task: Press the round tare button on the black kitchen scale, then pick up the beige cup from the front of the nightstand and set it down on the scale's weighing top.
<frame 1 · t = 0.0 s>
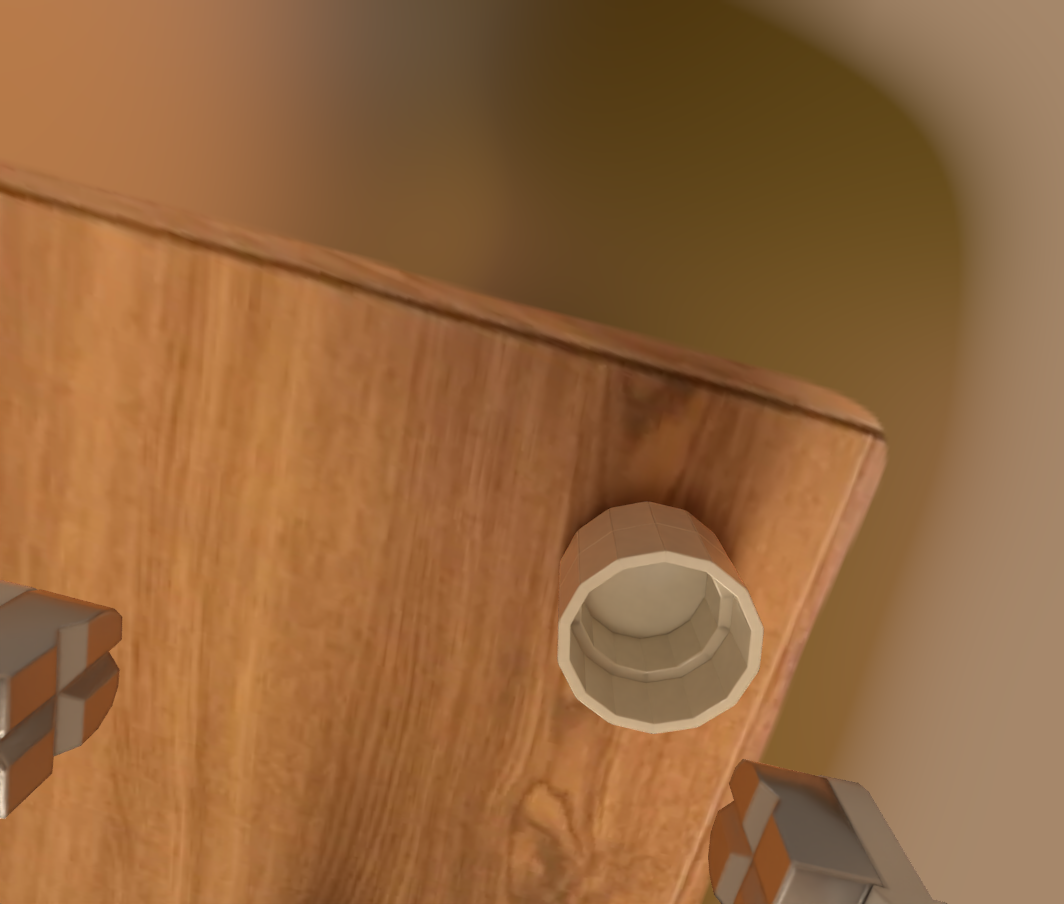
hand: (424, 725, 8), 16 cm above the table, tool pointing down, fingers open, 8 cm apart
beige cup: (641, 575, 25), on the table
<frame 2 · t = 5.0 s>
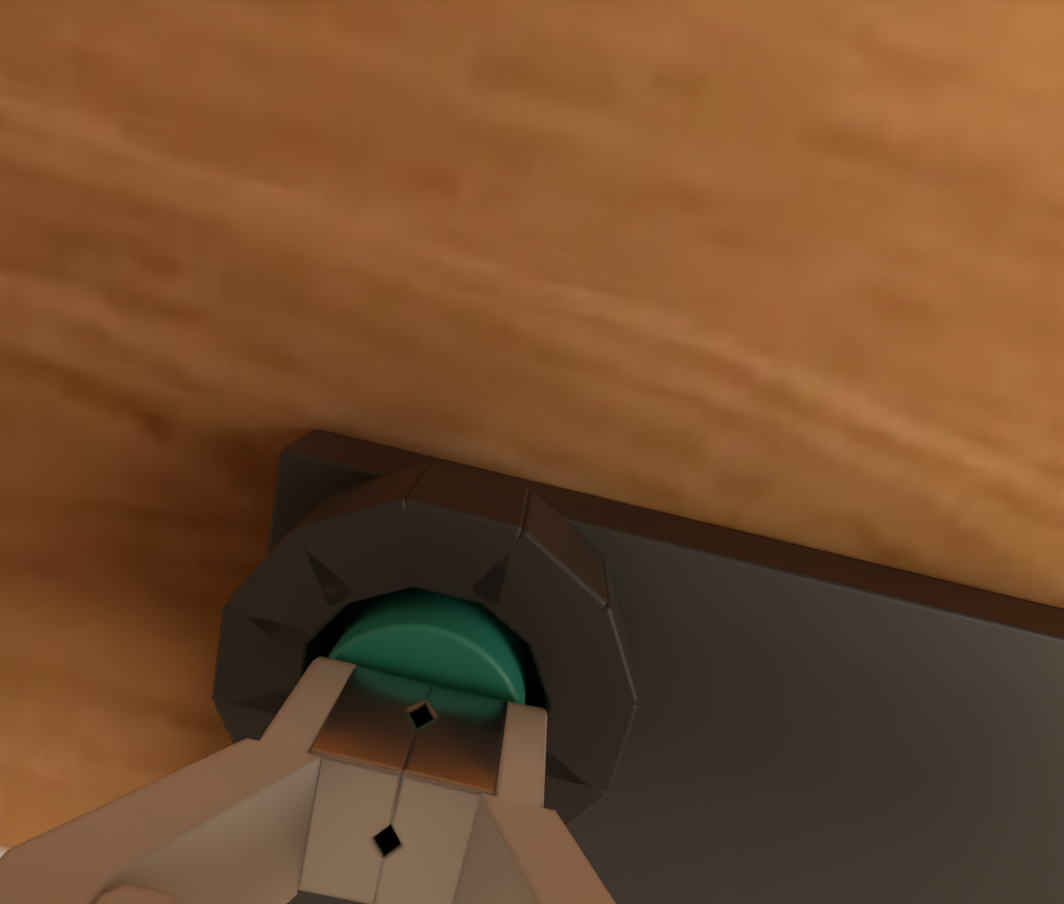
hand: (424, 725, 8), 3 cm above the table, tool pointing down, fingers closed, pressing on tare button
scale: (666, 744, 12), on the table
tare button: (427, 685, 9), point 3 cm above the table, slide at -0.7 cm, touching gripper
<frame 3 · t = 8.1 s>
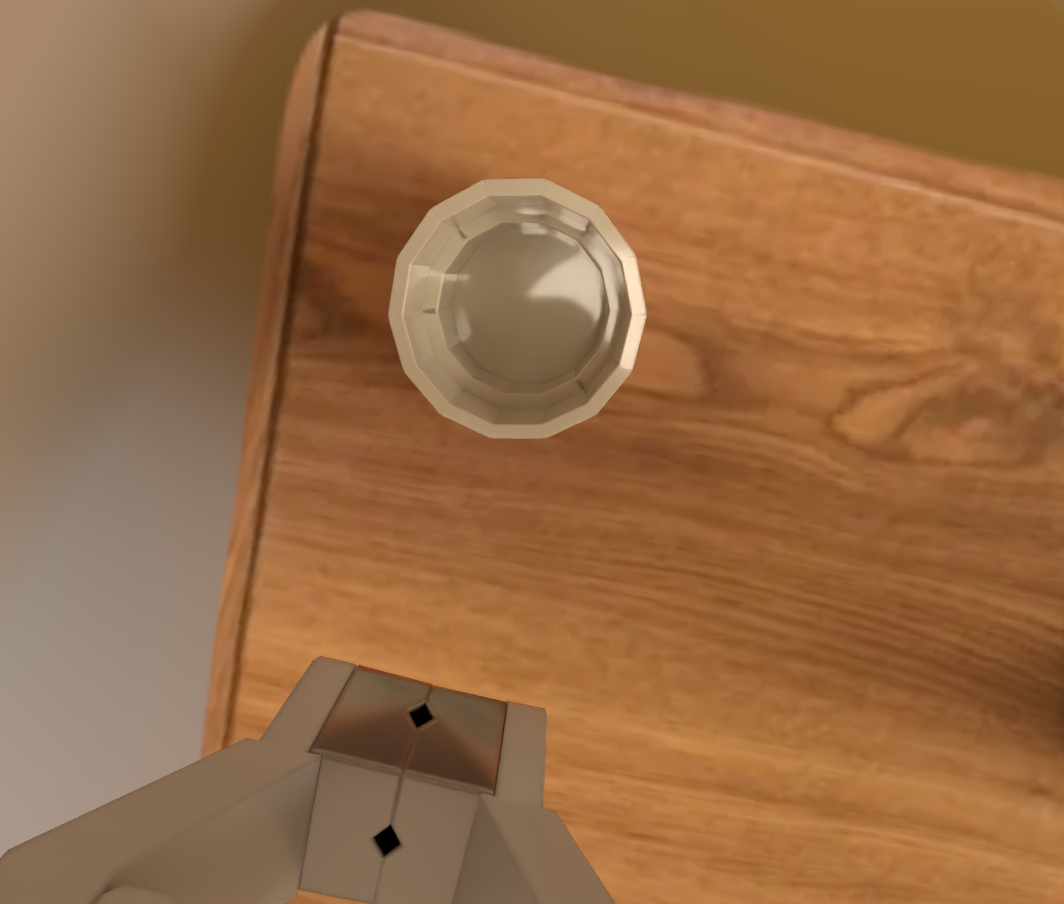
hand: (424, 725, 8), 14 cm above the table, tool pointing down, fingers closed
beige cup: (528, 307, 21), on the table
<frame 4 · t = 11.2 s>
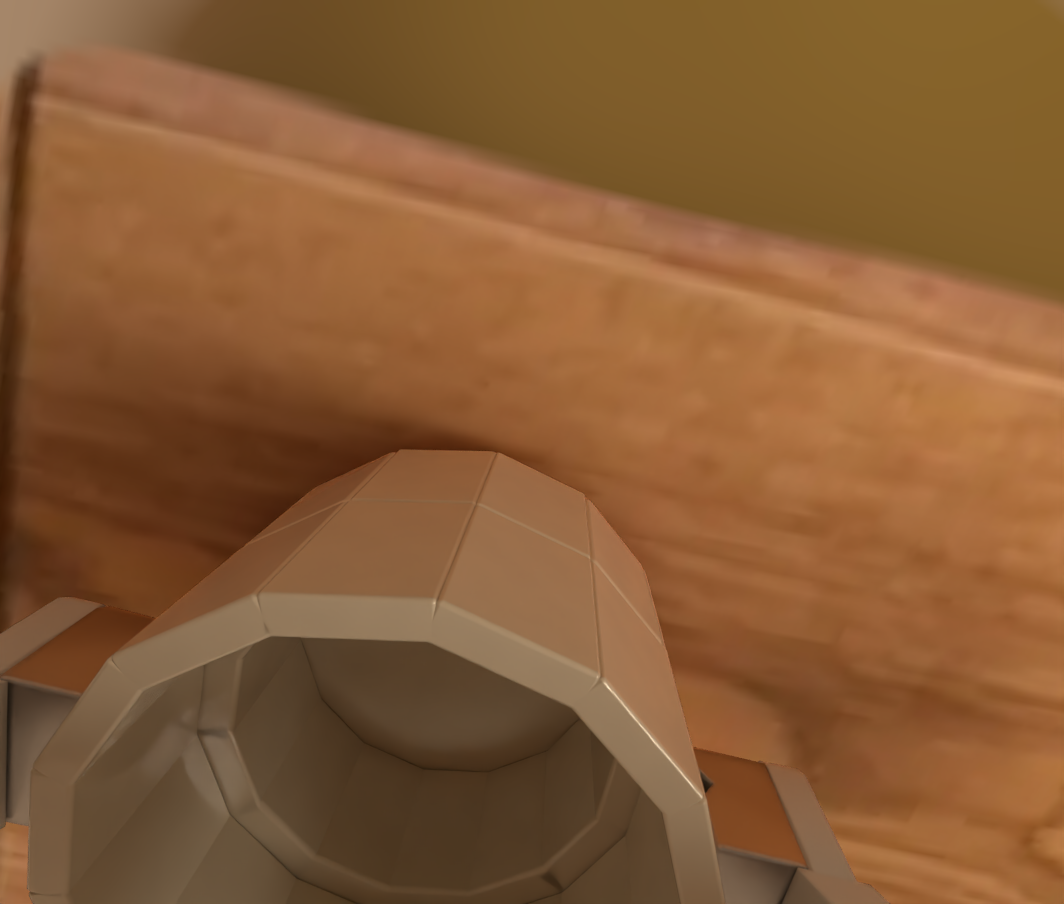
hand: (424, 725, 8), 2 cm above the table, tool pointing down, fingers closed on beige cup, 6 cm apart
beige cup: (457, 627, 11), on the table, touching gripper
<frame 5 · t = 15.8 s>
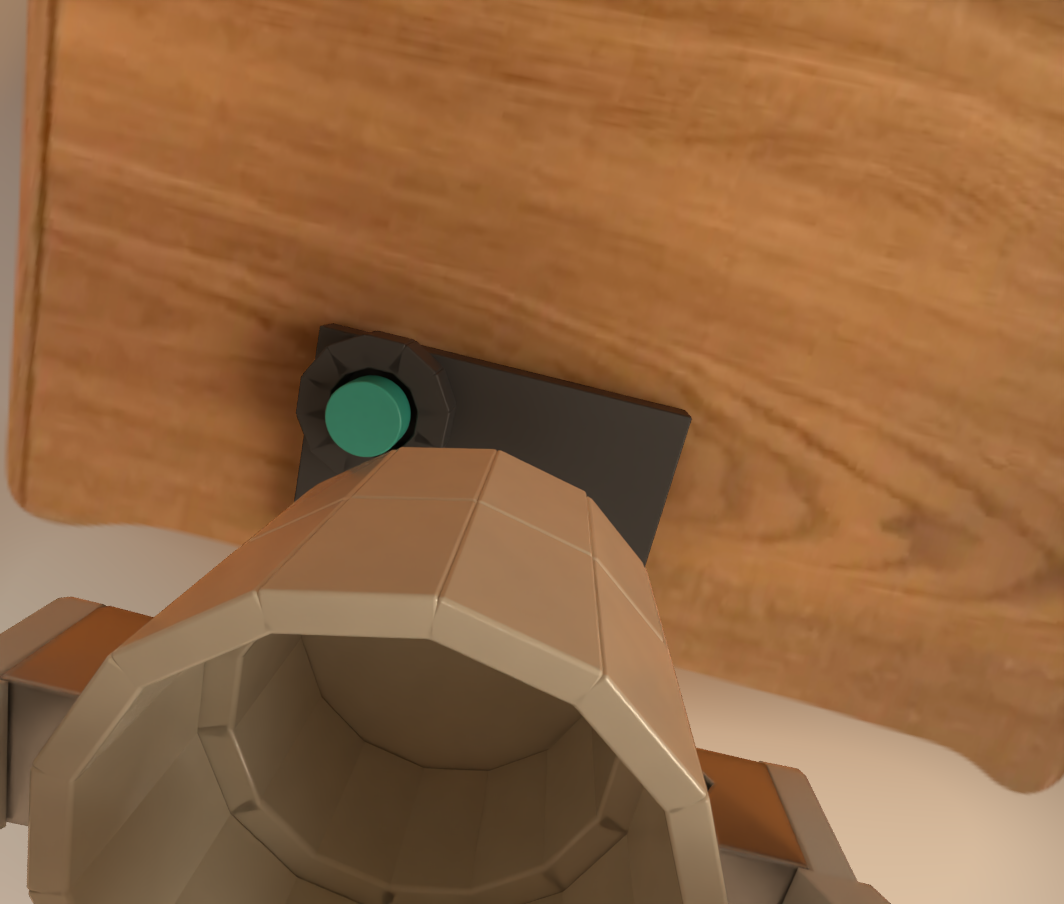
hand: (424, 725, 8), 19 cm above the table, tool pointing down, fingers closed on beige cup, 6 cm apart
scale: (486, 468, 28), on the table
beige cup: (458, 625, 11), point 17 cm above the table, touching gripper
tare button: (369, 415, 24), point 3 cm above the table, slide at 0.1 cm
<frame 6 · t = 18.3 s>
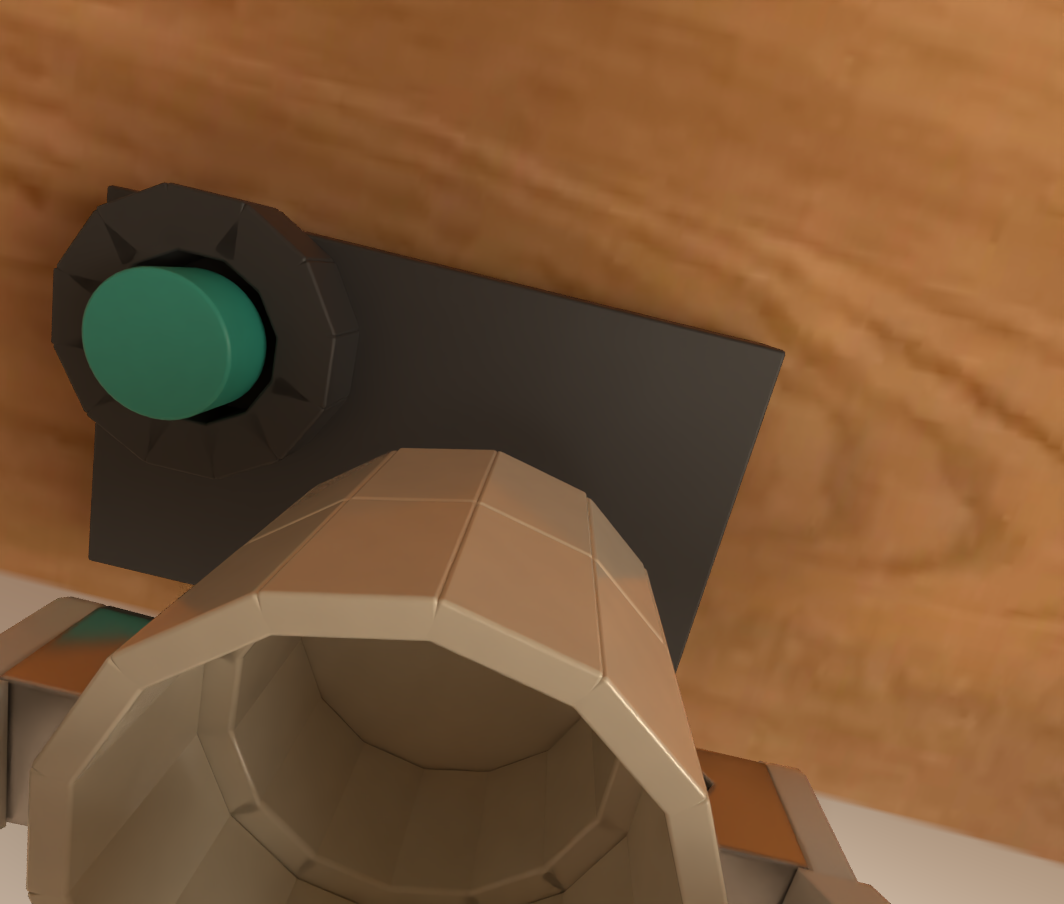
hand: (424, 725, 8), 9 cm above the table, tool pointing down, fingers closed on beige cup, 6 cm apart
scale: (424, 448, 16), on the table
beige cup: (458, 626, 11), point 6 cm above the table, touching gripper
tare button: (179, 341, 12), point 3 cm above the table, slide at 0.1 cm
when the fingers open (4 cm above the table, at t = 20.3 s): beige cup stays where it is, resting on scale.
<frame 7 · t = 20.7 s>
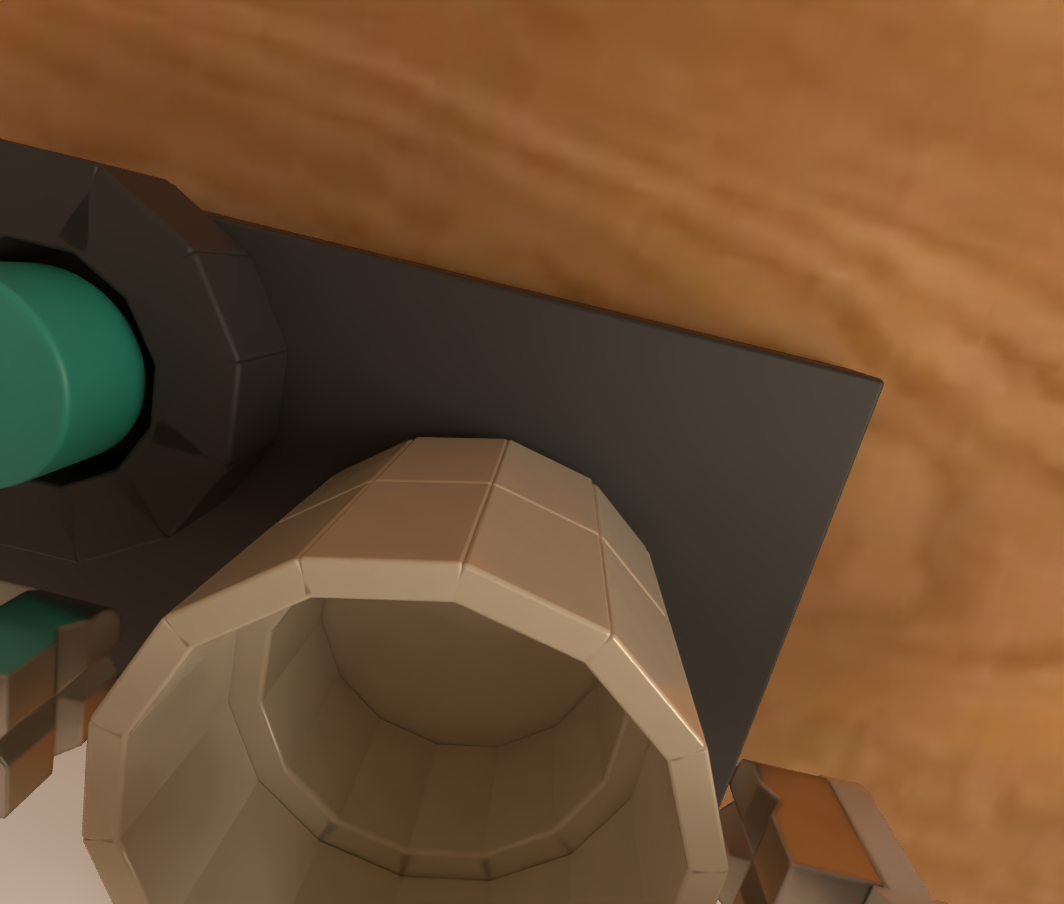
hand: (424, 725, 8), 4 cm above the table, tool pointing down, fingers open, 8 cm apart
scale: (385, 504, 12), on the table
beige cup: (470, 608, 11), point 1 cm above the table, touching scale
tare button: (7, 372, 8), point 3 cm above the table, slide at 0.1 cm
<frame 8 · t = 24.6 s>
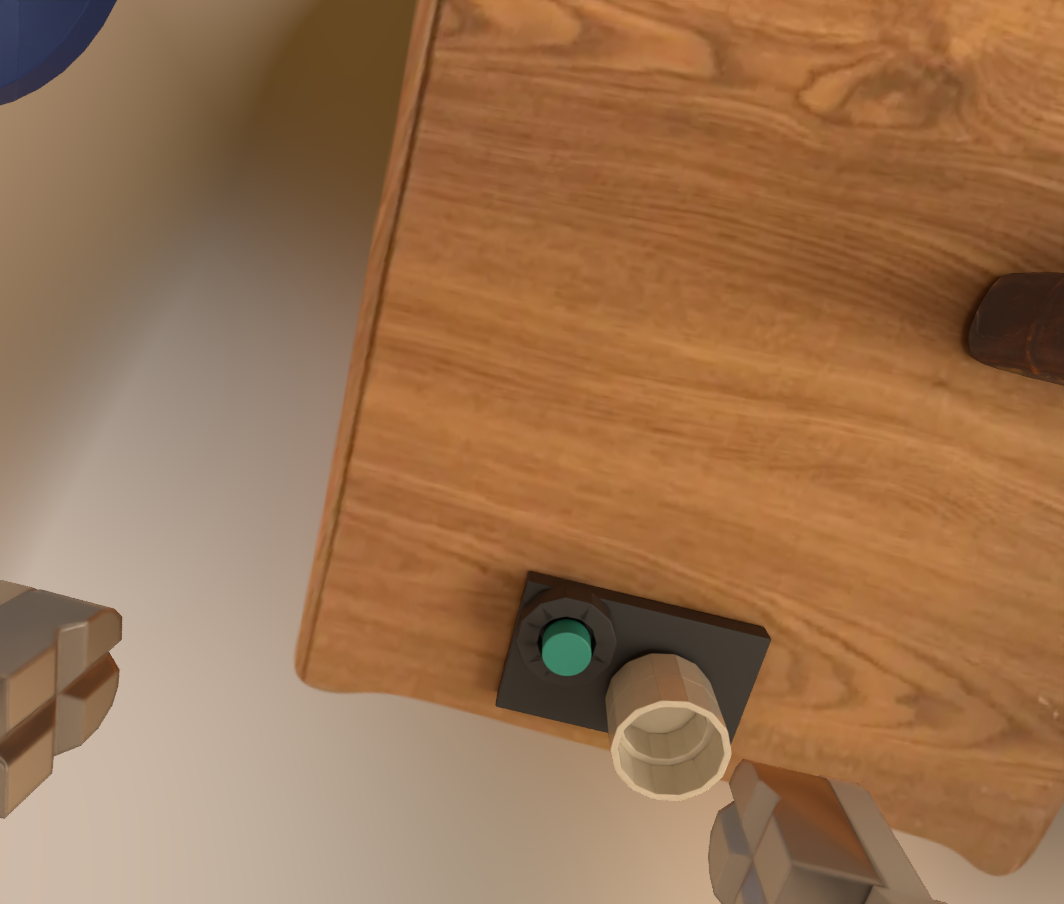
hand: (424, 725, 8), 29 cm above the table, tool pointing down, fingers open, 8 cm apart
scale: (627, 660, 41), on the table
beige cup: (657, 694, 40), point 1 cm above the table, touching scale
tare button: (566, 647, 37), point 3 cm above the table, slide at 0.1 cm
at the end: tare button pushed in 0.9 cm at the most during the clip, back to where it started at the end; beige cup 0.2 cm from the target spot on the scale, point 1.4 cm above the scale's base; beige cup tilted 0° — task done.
